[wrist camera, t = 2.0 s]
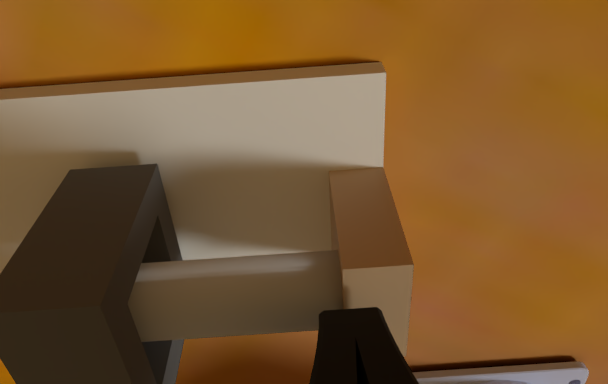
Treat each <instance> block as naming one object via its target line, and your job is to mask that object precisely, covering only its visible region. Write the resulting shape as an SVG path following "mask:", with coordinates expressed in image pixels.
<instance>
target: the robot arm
mask: <svg viewBox="0 0 608 384" xmlns="http://www.w3.org/2000/svg"><path fill="white" fill-rule="evenodd" d="M588 375H589V371H588V369H587V367H586V366H585V364H584V363H582V362H577V361H574V362H559V363H544V364H529V365H514V366H499V367H484V368H470V369H455V370H440V371H425V372H412V371H411V369H410V368H409V366H408V364H407V362H406V361H405V359H404V357H403V355H402V353H401V351H400V349H399V348H398V346H397V344H396V342H395V340H394V338H393V336H392V334H391V332H390V330H389V327H388V325H387V323H386V321H385V318H384V316H383V313H382V310H380V309H379V308H378V307H368V308H354V309H339V310H324V311H322V312H321V313H320V314H319V330H318V341H317V348H316V354H315V360H314V365H313V370H312V374H311V378H310V383H309V384H585V382H586V380H587V377H588Z"/></svg>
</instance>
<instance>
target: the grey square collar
mask: <svg viewBox="0 0 608 384" xmlns="http://www.w3.org/2000/svg"><path fill="white" fill-rule="evenodd" d="M182 260H183V259H182V256H181V252H180V248H179V244H178V240H177V237H176V233H175V229H174V225H173V221H172V217H171V214H170V210H169V206H168V202H167V198H166V195H165V191H164V187H163V183H162V179H161V175H160V172H159V168H158V164H143V165H129V166H115V167H100V168H86V169H72V170H69V172H68V173H67V175H66V176H65V178H64V179H63V181H62V182H61V184H60V185H59V187H58V188H57V190H56V191H55V193H54V194H53V196H52V197H51V199H50V200H49V202H48V203H47V205H46V206H45V208H44V209H43V211H42V212H41V214H40V215H39V217H38V218H37V220H36V221H35V223H34V224H33V226H32V227H31V229H30V230H29V232H28V233H27V235H26V236H25V238H24V239H23V241H22V242H21V244H20V245H19V247H18V248H17V250H16V251H15V253H14V254H13V256H12V257H11V259H10V260H9V262H8V263H7V265H6V266H5V268H4V269H3V271H2V272H1V274H0V359H1V360H2V362H3V363H4V365H5V367H6V368H7V370H8V371H9V373H10V375H11V376H12V378H13V379H14V381H15V383H16V384H175V382H176V377H177V373H178V368H179V363H180V358H181V353H182V348H183V343H184V339H180V340H166V341H151V342H141V339H140V336H139V334H138V331H137V328H136V326H135V323H134V320H133V317H132V315H131V312H130V309H129V307H128V301H129V298H130V295H131V292H132V289H133V286H134V283H135V280H136V277H137V274H138V272H139V269H140V266H141V263H153V262H168V261H182Z"/></svg>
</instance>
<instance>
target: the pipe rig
mask: <svg viewBox="0 0 608 384" xmlns="http://www.w3.org/2000/svg"><path fill="white" fill-rule="evenodd" d="M385 93H386V71H385V69H384V67H383V65H382V62H373V63H358V64H344V65H330V66H316V67H302V68H288V69H274V70H260V71H246V72H232V73H217V74H203V75H189V76H175V77H161V78H147V79H133V80H119V81H105V82H91V83H76V84H62V85H48V86H34V87H20V88H6V89H0V274H1V272H2V271H3V269H4V268H5V266H6V265H7V263H8V262H9V260H10V259H11V257H12V256H13V254H14V253H15V251H16V250H17V248H18V247H19V245H20V244H21V242H22V241H23V239H24V238H25V236H26V235H27V233H28V232H29V230H30V229H31V227H32V226H33V224H34V223H35V221H36V220H37V218H38V217H39V215H40V214H41V212H42V211H43V209H44V208H45V206H46V205H47V203H48V202H49V200H50V199H51V197H52V196H53V194H54V193H55V191H56V190H57V188H58V187H59V185H60V184H61V182H62V181H63V179H64V178H65V176H66V175H67V173H68V172H69V170H72V169H86V168H100V167H115V166H129V165H143V164H158V168H159V172H160V175H161V179H162V183H163V187H164V191H165V195H166V198H167V202H168V206H169V210H170V214H171V217H172V221H173V225H174V229H175V233H176V237H177V240H178V244H179V248H180V252H181V256H182V259H183V260H182V261H168V262H153V263H141V266H140V269H139V272H138V274H137V277H136V280H135V283H134V286H133V289H132V292H131V295H130V298H129V301H128V307H129V309H130V312H131V315H132V317H133V320H134V323H135V326H136V328H137V331H138V334H139V336H140V339H141V342H151V341H166V340H180V339H195V338H210V337H225V336H240V335H254V334H269V333H284V332H299V331H313V330H319V314H320V313H321V312H322V311H324V310H339V309H354V308H368V307H378V308H379V309H380V310H382V313H383V316H384V318H385V321H386V323H387V325H388V327H389V330H390V332H391V334H392V336H393V338H394V340H395V342H396V344H397V346H398V348H399V349H400V351H401V353H402V355H403V356H406V352H407V340H408V328H409V316H410V304H411V292H412V280H413V268H414V264H413V261H412V258H411V254H410V251H409V248H408V245H407V242H406V238H405V235H404V232H403V229H402V226H401V223H400V219H399V216H398V213H397V210H396V207H395V203H394V200H393V197H392V194H391V191H390V188H389V184H388V181H387V178H386V175H385V172H384V168H383V155H384V124H385Z"/></svg>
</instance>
